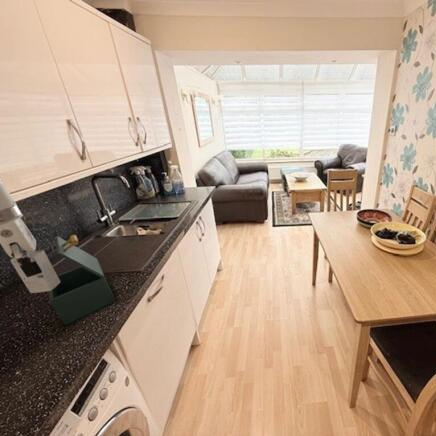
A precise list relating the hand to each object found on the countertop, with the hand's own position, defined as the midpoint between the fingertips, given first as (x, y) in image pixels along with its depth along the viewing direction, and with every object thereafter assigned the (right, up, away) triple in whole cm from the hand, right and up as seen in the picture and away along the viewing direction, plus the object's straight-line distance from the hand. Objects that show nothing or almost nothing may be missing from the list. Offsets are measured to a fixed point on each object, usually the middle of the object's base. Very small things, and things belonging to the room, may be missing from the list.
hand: (35, 268), depth 71 cm
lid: (0, +1, +14) cm, 15 cm away
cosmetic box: (0, -7, +3) cm, 7 cm away
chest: (-1, -17, +20) cm, 26 cm away
